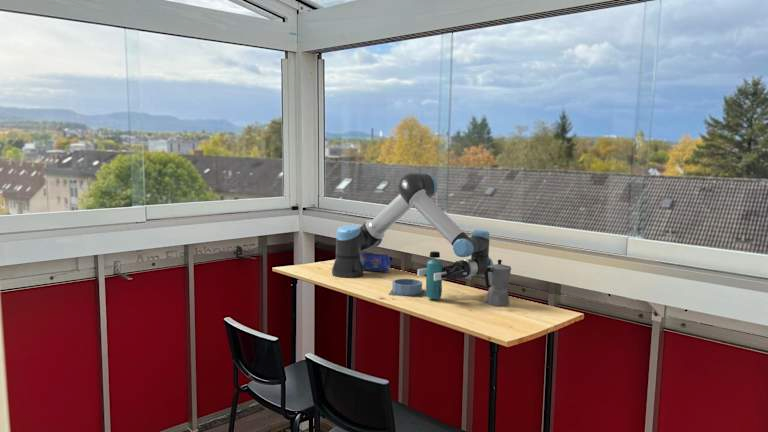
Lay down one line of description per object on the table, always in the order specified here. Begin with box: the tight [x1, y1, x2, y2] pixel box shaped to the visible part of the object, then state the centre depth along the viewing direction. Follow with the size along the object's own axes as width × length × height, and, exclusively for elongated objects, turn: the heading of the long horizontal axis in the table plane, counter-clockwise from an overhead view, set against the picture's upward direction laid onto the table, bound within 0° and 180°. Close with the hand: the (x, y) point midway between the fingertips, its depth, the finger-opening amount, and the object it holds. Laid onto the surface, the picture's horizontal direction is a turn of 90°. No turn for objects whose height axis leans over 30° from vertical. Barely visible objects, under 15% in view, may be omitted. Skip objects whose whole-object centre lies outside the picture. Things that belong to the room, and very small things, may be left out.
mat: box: [388, 288, 426, 298], centre depth 244 cm, size 14×14×1 cm
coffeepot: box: [483, 259, 512, 308], centre depth 229 cm, size 15×9×18 cm, turn 129°
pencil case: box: [360, 252, 394, 273], centre depth 287 cm, size 22×9×10 cm, turn 71°
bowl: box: [391, 278, 423, 297], centre depth 244 cm, size 12×12×4 cm
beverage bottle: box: [425, 251, 443, 300], centre depth 232 cm, size 6×7×20 cm
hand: (426, 274), depth 229 cm, fingers open, 9 cm apart
